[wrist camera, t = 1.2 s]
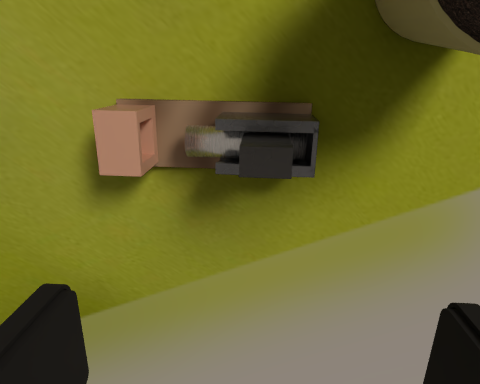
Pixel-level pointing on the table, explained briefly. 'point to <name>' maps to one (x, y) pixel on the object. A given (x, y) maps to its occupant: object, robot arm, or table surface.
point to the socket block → (125, 139)
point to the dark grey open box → (271, 124)
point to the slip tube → (249, 149)
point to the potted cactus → (435, 22)
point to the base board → (199, 123)
